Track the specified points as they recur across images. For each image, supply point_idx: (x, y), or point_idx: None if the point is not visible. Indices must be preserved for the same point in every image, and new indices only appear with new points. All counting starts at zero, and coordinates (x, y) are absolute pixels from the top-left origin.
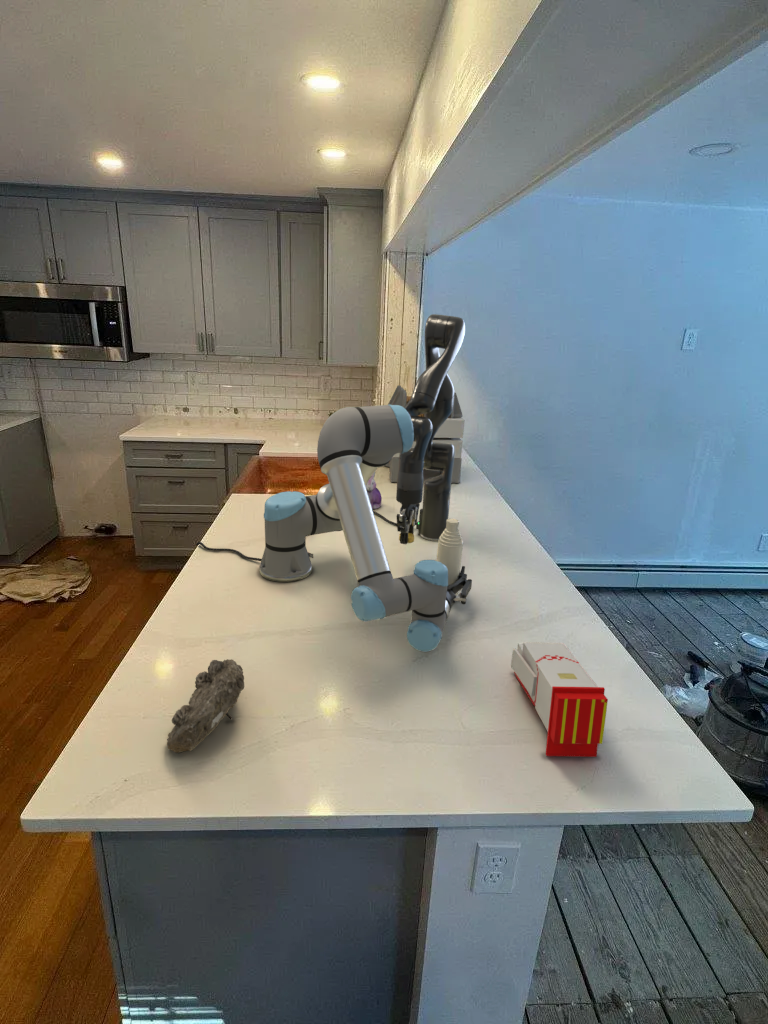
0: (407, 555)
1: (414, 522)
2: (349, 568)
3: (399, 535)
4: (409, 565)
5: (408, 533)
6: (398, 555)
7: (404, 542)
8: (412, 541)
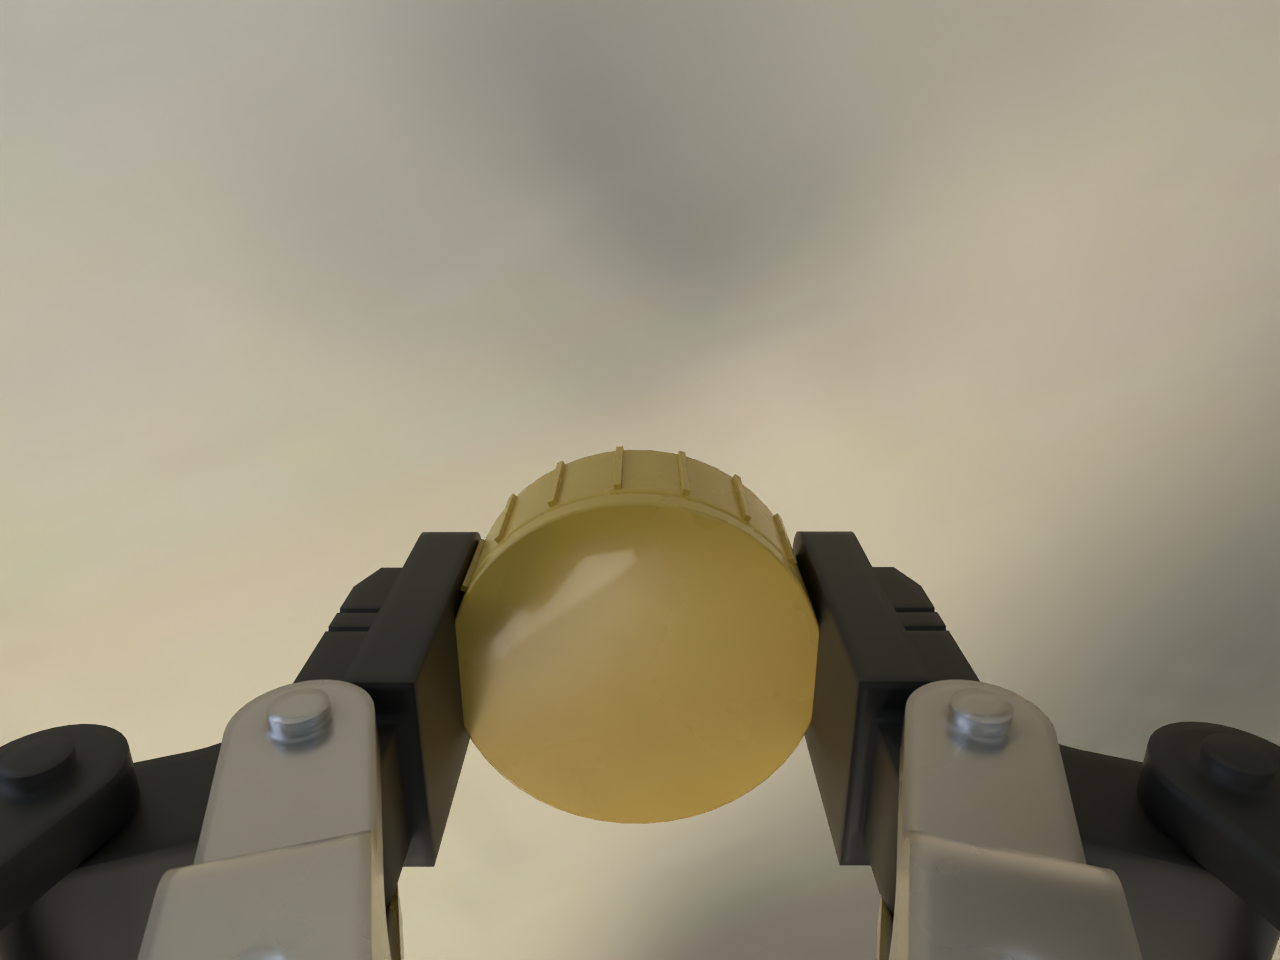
0: (169, 518)
1: (271, 777)
2: (809, 889)
3: (717, 796)
4: (429, 400)
5: (524, 671)
6: (239, 607)
7: (904, 588)
8: (688, 462)
